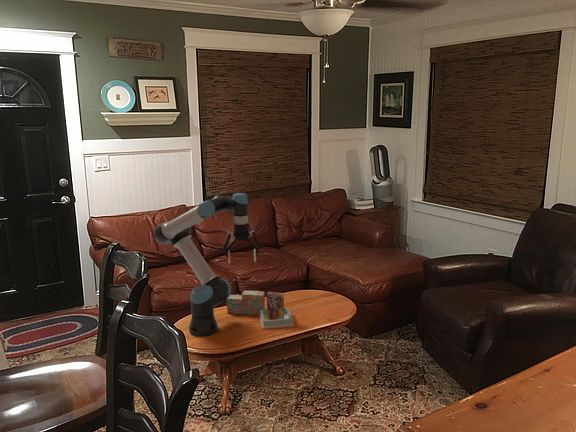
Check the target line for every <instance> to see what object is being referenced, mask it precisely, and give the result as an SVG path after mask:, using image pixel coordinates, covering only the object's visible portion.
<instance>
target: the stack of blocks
mask: <svg viewBox="0 0 576 432" xmlns="http://www.w3.org/2000/svg"><path fill="white" fill-rule="evenodd" d="M265 293H266V292H265V291H261V290H243V292H242V293H241V294H230V296H229V297H228V298H227V299H226V312H227V314H234V315H251V316H259V314H260V310H261V309H266V305H265V304H266V302H265V301H266V296H265Z"/></svg>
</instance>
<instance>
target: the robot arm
mask: <svg viewBox="0 0 576 432" xmlns="http://www.w3.org/2000/svg"><path fill="white" fill-rule="evenodd" d="M248 204H249V201H248V194H246V193H244V192H235V193H233V194H232V196H230V195H228V196H226V195H221V194H220V195H215V196H214V197H213V198H212V199H209V200H203V201H202V202H200V203H199V204H198V205H197V206H195V207H193V208H192V209H190V210H188V211H186V212H185V213H183V214H181V215H179V216H177V217H175V218H174V219H172V220H170V221H165V222H162V223H160V224H158V225H157V226H155V228H154V230H153V238H154V240H155V241H156V242H157V243H159V244H160V245H168V244H171V245H172V247H174V248H176V249H178V250H179V252H180V253H181V255H182V256H183V258H184V260H185V261H186V262H187V264H188V265H189V267H190V268H191V270H192V271H193V273H194V275H195V276H196V277H197V279H198V280H199V282H200V285H197V286H195V287H194V288H193V289H192V290H191V291H190V298H189V299H190V310H191V311H190V313H191V319H190V322H189V326H188V332H189V333H190V334H191V335H192V336H196V337H206V336H210V335H213V334H215V333H217V331H218V330H219V329H218V328H219V327H218V322H217V320H216V318H215V314H214V313H215V312H214V308H215V307H217V306H218V305H219V304H221V303H223V302H225V301H227V298H228V297H229V296H230V295H232V294H231V293H232V287H231V285H230V283H229V282H228V280H226V279H224V278H221V277H220V276H219V274H215V273H214V272H213V270H212V268H211V267H210V266H209V264H208V263H207V261H206V259H205V258H204V257H203V255H202V254H201V252H200V251H199V249H198V248H197V246H196V245H195V243H194V242H193V240H192V234H191V232H192V230H191V229H192V228H191V227H192V226H194V225H196V224H198V223H200V222H203V220H205V219H207V218H209V217H212V216H214V215H216V214H219V213H222V212H224V211H225V212H226V211H228V212H232V213H233V223H234V224H233V232H229V231H228V232H227V237H226V239H225V241H224V244H223V245H222V248H221V249H222V251H223V252H224V251H225V257H226V258H228V260H227V261H228V264H229V265H231V253H230V252H231V251H230V250H231V249H232V247H233V246H234V245H235V243H237V242H241V241H242V242H243V241H244V242H245V241H247V242H248V243H249V244H250V245H251V246H252V247H253V248H254V249H253V262H255V263H257V256H259V250H260V249H262V245H261V244H260V242H259V240H258V239H257V237H256V234H255V230H252V231H249V211H248V209H249V207H248ZM249 236H251V237H253V240H254V242H255V243H256V244H255V243H254V242H253V241H252V240H251V239H250V238H249ZM232 237H234V238H233V239H232V240H231V242H230V239H231V238H232ZM229 242H230V243H229Z"/></svg>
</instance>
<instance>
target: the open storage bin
mask: <svg viewBox="0 0 576 432" xmlns="http://www.w3.org/2000/svg"><path fill="white" fill-rule="evenodd" d="M258 317H259V321H260V323H261V327H262V329H273V328H274V329H276V328H286V327H294V326H295V324H294V319H293V317H292V314H291V312H290V308H289V307H284V319H277V320H267V308H265V309H261V310H260V314H259V315H258Z"/></svg>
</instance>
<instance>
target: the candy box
mask: <svg viewBox="0 0 576 432" xmlns="http://www.w3.org/2000/svg"><path fill="white" fill-rule="evenodd" d="M284 294H285V293H284V292H276V291H275V292H274V291H268V292H267V293H266V309H267V320H277V319H284V308H285V295H284Z"/></svg>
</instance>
